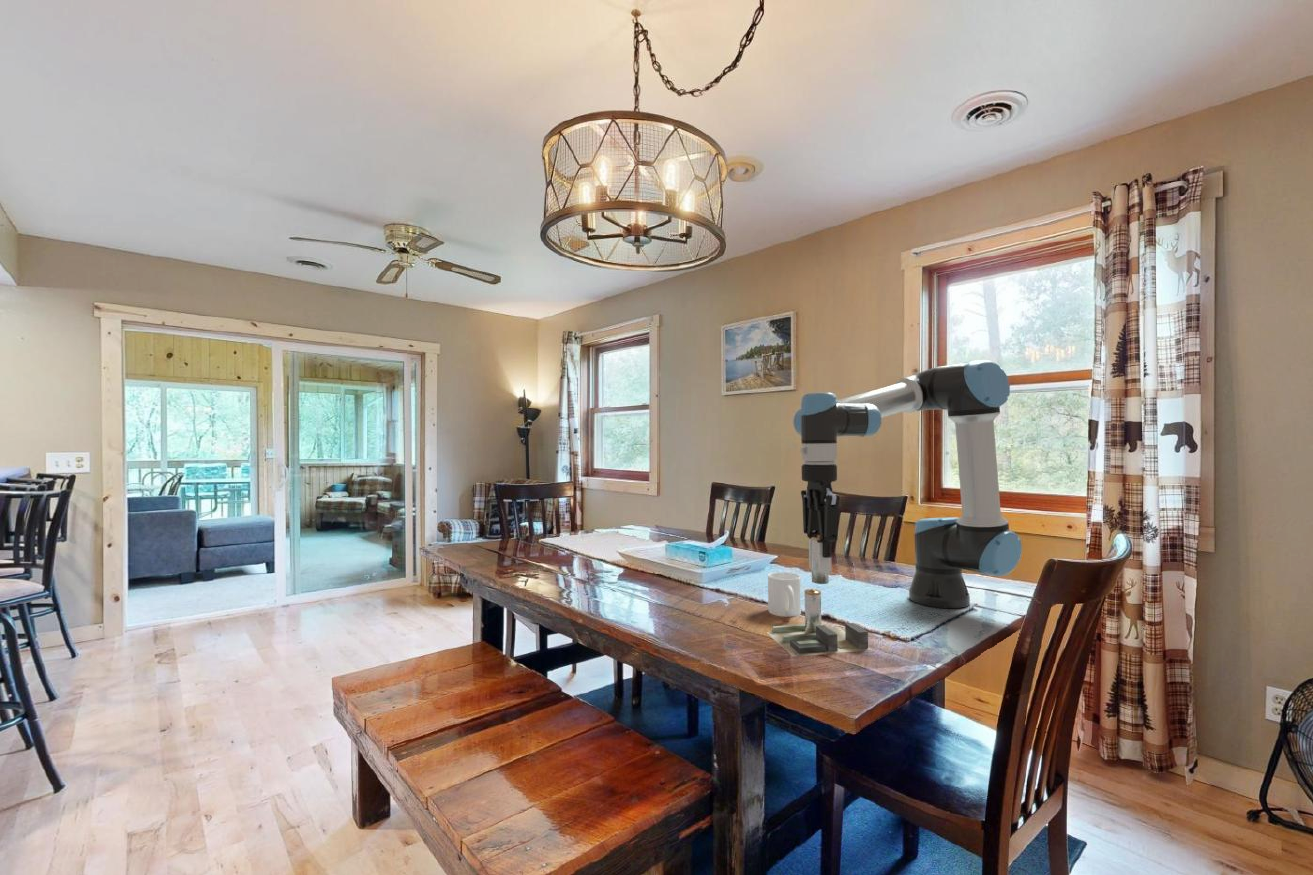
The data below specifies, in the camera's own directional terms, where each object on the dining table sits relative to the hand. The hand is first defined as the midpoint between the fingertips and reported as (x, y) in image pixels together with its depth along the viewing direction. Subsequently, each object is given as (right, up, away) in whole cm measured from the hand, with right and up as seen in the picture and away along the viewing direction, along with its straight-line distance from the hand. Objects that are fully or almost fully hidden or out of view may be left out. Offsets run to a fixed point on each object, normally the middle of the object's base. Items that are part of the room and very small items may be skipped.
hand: (820, 569), depth 124 cm
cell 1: (0, -3, 0) cm, 3 cm away
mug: (-3, -17, +20) cm, 27 cm away
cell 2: (0, -16, +5) cm, 17 cm away
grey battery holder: (0, -17, +1) cm, 17 cm away
